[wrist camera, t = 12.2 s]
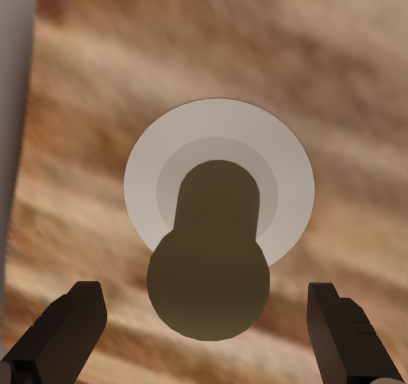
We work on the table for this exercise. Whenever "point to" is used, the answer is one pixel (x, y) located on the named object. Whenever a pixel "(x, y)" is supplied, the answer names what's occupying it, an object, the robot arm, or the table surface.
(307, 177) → the cream plate
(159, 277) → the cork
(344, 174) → the table surface
